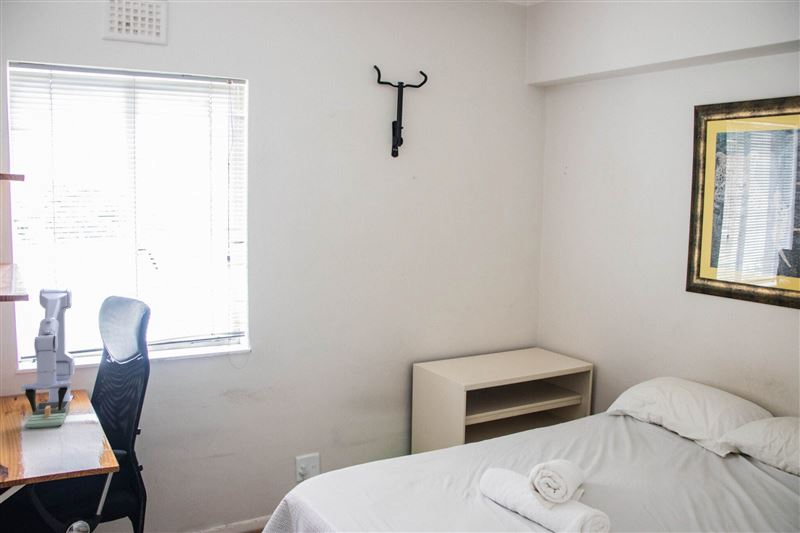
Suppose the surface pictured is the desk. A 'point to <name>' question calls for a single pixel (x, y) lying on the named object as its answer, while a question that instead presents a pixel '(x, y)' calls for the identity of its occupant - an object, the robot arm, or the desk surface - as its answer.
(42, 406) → the tub
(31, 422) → the lid
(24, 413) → the desk surface
